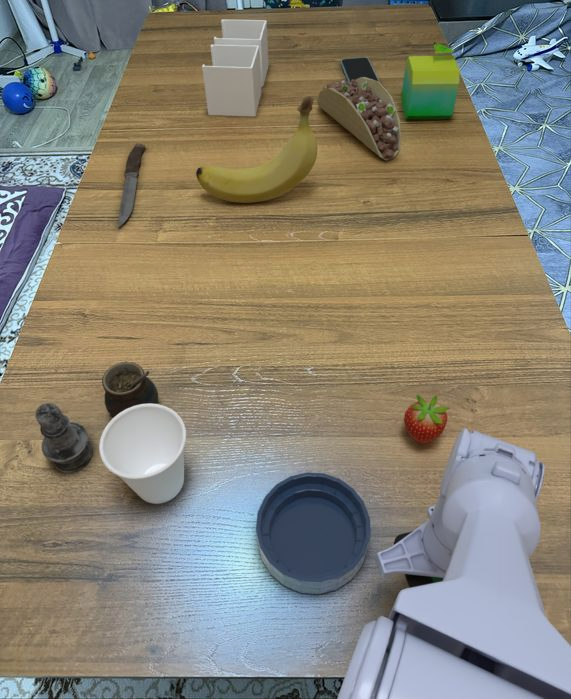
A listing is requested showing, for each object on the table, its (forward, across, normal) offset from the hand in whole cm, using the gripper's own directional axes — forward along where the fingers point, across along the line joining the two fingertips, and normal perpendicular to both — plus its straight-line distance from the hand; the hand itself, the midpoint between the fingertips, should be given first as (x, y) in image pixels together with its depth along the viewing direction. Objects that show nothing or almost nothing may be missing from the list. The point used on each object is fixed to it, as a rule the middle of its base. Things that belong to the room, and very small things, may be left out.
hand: (435, 576), depth 61 cm
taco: (+5, -23, -95) cm, 98 cm away
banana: (+5, +3, -77) cm, 77 cm away
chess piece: (+6, +39, -28) cm, 48 cm away
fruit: (+5, -7, -19) cm, 21 cm away
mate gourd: (+5, +30, -33) cm, 45 cm away
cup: (+6, +28, -21) cm, 35 cm away
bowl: (+5, +11, -9) cm, 15 cm away
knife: (+5, +27, -88) cm, 92 cm away
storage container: (+5, -2, -121) cm, 121 cm away
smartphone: (+5, -32, -119) cm, 123 cm away
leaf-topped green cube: (+5, -41, -99) cm, 107 cm away
